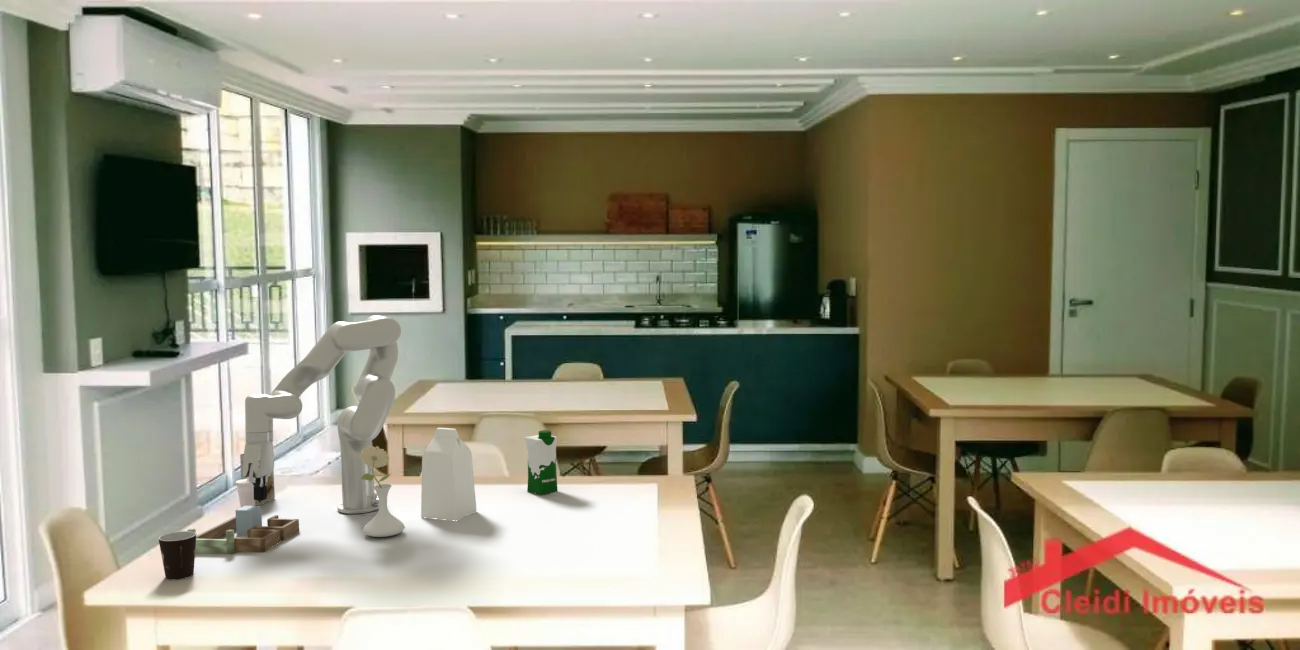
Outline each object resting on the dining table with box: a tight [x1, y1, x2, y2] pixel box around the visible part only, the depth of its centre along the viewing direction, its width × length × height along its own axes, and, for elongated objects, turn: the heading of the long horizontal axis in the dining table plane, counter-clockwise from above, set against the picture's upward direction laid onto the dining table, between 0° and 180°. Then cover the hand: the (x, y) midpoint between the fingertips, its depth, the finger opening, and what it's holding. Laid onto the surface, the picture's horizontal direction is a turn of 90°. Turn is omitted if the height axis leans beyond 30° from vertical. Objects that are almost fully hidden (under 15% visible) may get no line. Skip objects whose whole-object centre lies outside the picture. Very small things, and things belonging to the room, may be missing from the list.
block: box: [234, 505, 263, 535], centre depth 304 cm, size 5×5×7 cm
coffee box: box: [239, 453, 276, 506], centre depth 338 cm, size 9×6×16 cm
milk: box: [420, 427, 478, 522], centre depth 318 cm, size 12×12×26 cm
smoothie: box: [235, 477, 256, 508], centre depth 326 cm, size 6×6×14 cm
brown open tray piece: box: [186, 514, 300, 555], centre depth 296 cm, size 20×26×6 cm
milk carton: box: [524, 429, 559, 496], centre depth 345 cm, size 9×9×20 cm
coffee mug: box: [157, 530, 197, 580], centre depth 264 cm, size 12×9×10 cm
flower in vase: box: [360, 445, 406, 538], centre depth 298 cm, size 13×11×25 cm
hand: (260, 499), depth 311 cm, fingers closed
